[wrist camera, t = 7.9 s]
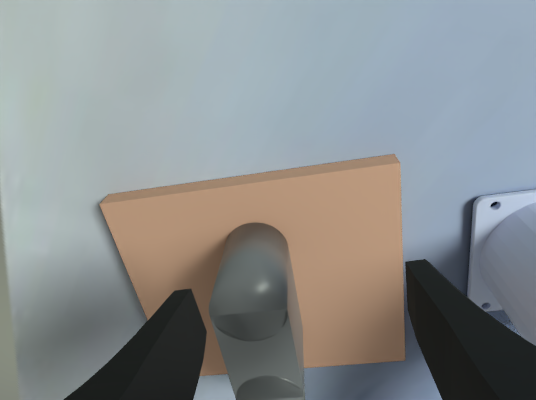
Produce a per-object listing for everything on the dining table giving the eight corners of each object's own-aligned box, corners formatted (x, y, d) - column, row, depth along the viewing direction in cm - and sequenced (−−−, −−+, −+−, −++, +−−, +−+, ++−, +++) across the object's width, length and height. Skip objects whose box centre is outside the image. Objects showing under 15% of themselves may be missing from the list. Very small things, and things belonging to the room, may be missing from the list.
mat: (394, 154, 20) (400, 162, 19) (400, 345, 27) (405, 360, 26) (108, 194, 23) (99, 204, 21) (176, 363, 29) (171, 378, 28)
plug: (283, 218, 21) (281, 277, 17) (308, 359, 26) (311, 433, 22) (218, 226, 22) (200, 285, 17) (255, 363, 27) (248, 437, 22)
